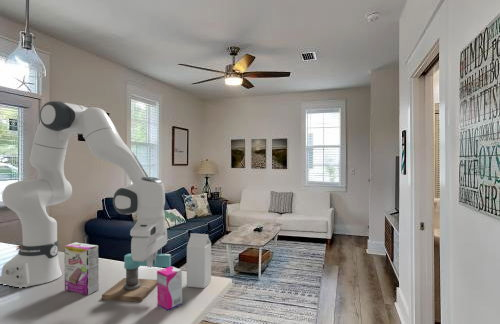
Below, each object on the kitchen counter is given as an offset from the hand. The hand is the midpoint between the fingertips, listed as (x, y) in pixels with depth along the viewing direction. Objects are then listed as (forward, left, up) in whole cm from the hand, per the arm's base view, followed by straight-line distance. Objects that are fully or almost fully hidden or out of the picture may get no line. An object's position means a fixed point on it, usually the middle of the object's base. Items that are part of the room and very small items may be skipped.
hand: (151, 265), depth 101 cm
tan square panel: (-9, +4, -11) cm, 15 cm away
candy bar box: (-27, +2, -11) cm, 29 cm away
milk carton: (+13, +13, -11) cm, 22 cm away
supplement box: (+8, -4, -11) cm, 14 cm away
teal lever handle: (-3, +4, -2) cm, 6 cm away
